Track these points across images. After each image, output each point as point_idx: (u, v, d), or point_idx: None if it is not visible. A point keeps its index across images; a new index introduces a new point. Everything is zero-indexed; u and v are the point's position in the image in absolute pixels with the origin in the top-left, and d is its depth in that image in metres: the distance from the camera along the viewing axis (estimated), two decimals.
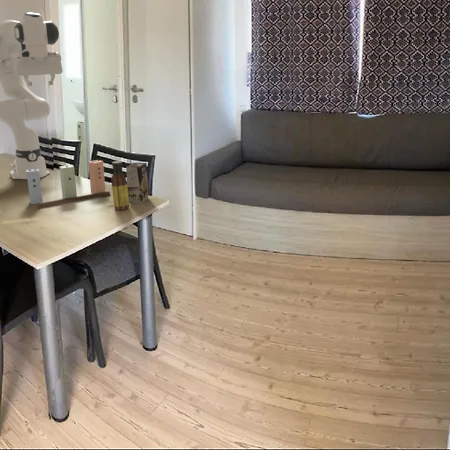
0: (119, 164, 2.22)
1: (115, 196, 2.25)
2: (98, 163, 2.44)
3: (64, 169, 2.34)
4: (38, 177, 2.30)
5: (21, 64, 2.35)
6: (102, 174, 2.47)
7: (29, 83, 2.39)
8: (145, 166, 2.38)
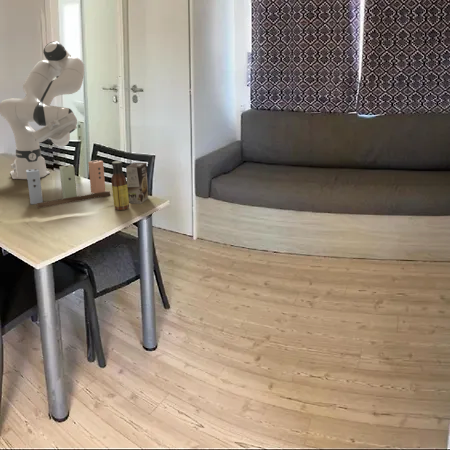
0: (119, 164, 2.22)
1: (115, 196, 2.25)
2: (98, 163, 2.44)
3: (64, 169, 2.34)
4: (38, 177, 2.30)
5: (72, 124, 2.49)
6: (102, 174, 2.47)
7: (56, 124, 2.39)
8: (145, 166, 2.38)
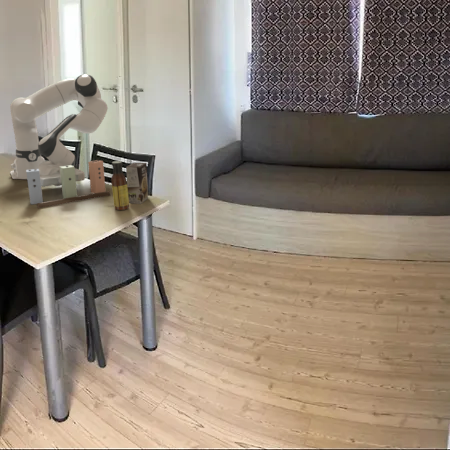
0: (119, 164, 2.22)
1: (115, 196, 2.25)
2: (98, 163, 2.44)
3: (64, 169, 2.34)
4: (38, 177, 2.30)
5: None
6: (102, 174, 2.47)
7: None
8: (145, 166, 2.38)
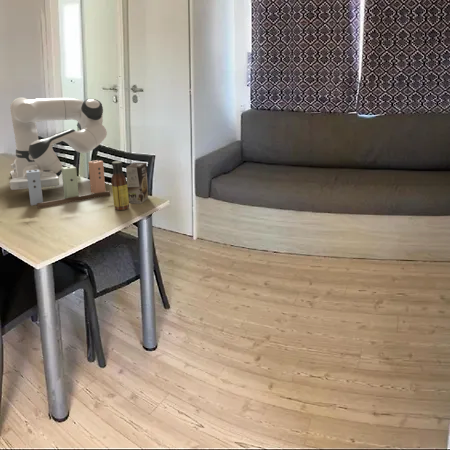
0: (119, 164, 2.22)
1: (115, 196, 2.25)
2: (98, 163, 2.44)
3: (66, 170, 2.32)
4: (38, 178, 2.28)
5: None
6: (102, 174, 2.47)
7: None
8: (145, 166, 2.38)
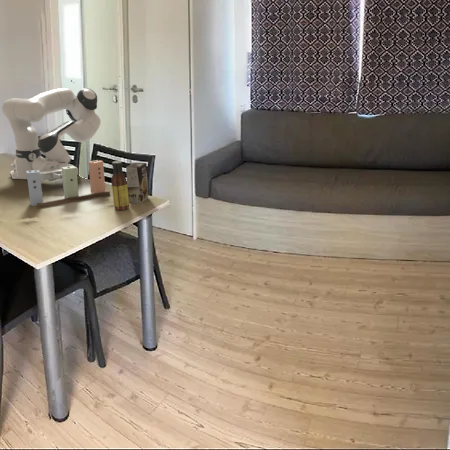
0: (119, 164, 2.22)
1: (115, 196, 2.25)
2: (98, 163, 2.44)
3: (66, 170, 2.32)
4: (38, 178, 2.28)
5: None
6: (102, 174, 2.47)
7: None
8: (145, 166, 2.38)
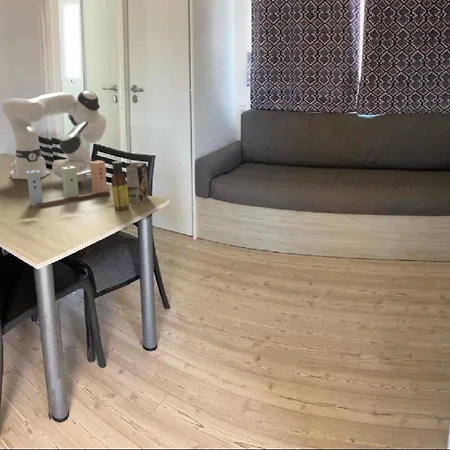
0: (119, 164, 2.22)
1: (115, 196, 2.25)
2: (99, 163, 2.44)
3: (66, 170, 2.32)
4: (38, 178, 2.28)
5: None
6: (103, 174, 2.47)
7: None
8: (145, 166, 2.38)
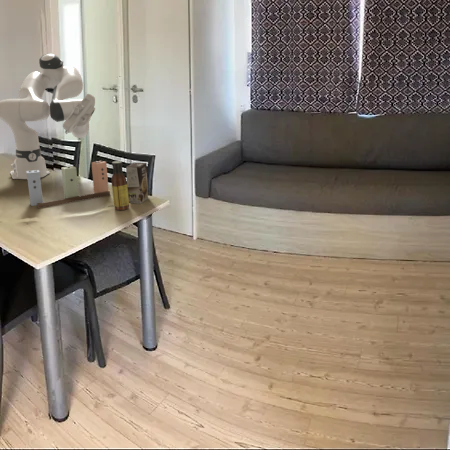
0: (119, 164, 2.22)
1: (115, 196, 2.25)
2: (101, 164, 2.43)
3: (66, 170, 2.32)
4: (38, 178, 2.28)
5: (91, 105, 2.57)
6: (105, 175, 2.46)
7: (81, 106, 2.47)
8: (145, 166, 2.38)
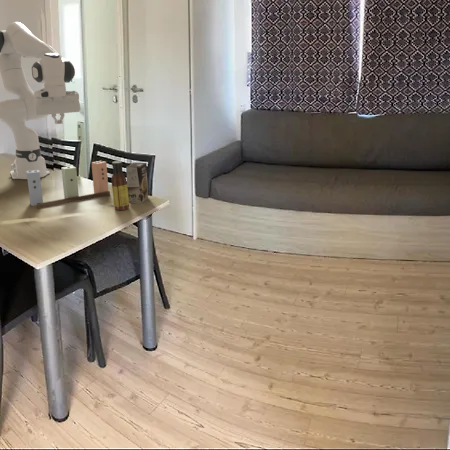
0: (119, 164, 2.22)
1: (115, 196, 2.25)
2: (101, 164, 2.43)
3: (66, 170, 2.32)
4: (38, 178, 2.28)
5: (41, 103, 2.37)
6: (105, 175, 2.46)
7: (57, 121, 2.44)
8: (145, 166, 2.38)
